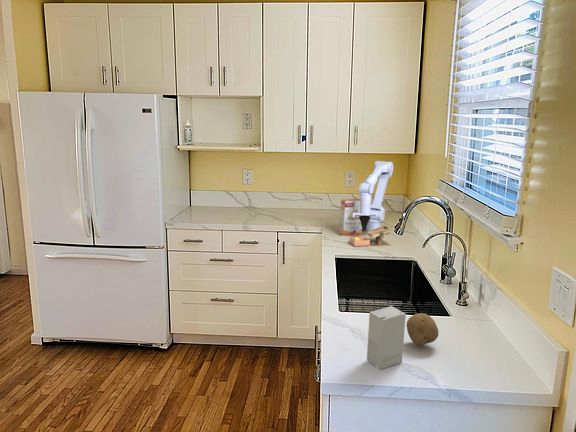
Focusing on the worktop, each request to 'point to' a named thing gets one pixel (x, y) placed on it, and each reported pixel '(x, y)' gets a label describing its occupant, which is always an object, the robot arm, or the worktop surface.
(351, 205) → the cracker box
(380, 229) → the lever
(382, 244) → the stand
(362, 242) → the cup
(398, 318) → the skincare box
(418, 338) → the potato
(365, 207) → the robot arm
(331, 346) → the worktop surface
